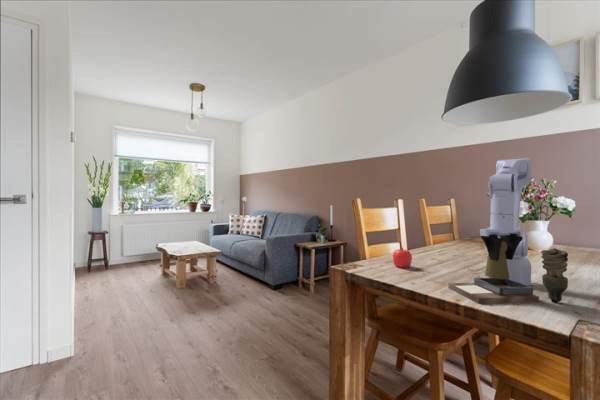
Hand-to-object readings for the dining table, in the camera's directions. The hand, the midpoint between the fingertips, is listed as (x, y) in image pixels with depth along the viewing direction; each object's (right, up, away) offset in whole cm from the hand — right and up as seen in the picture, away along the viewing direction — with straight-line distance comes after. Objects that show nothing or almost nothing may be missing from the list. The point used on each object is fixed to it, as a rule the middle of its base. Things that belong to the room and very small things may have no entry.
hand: (501, 259), depth 83 cm
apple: (-18, -10, +33) cm, 38 cm away
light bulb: (+11, -11, -5) cm, 16 cm away
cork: (0, -6, +1) cm, 6 cm away
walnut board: (-3, -10, 0) cm, 11 cm away
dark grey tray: (0, -9, 0) cm, 9 cm away
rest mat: (-9, -9, -1) cm, 12 cm away
